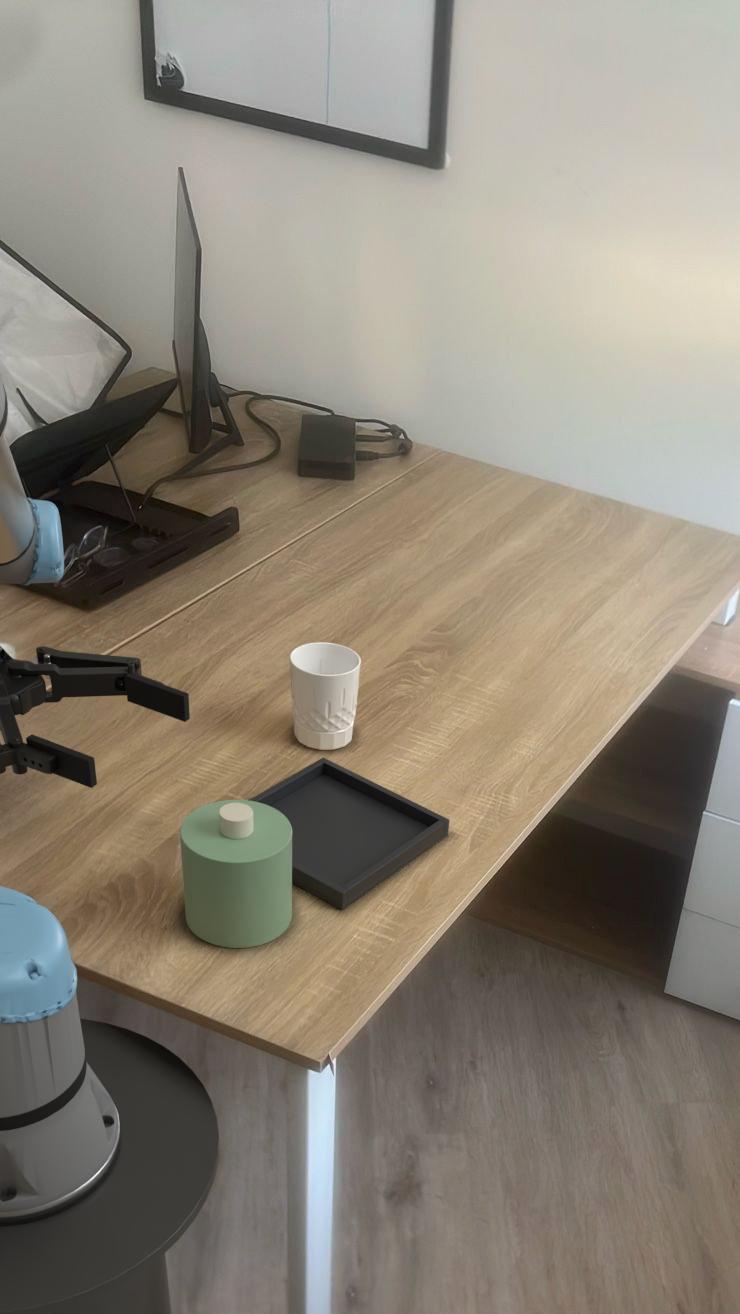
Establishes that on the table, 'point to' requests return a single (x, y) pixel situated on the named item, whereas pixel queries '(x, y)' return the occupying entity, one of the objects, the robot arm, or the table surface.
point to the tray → (349, 830)
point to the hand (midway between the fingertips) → (142, 739)
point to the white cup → (324, 694)
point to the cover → (237, 873)
